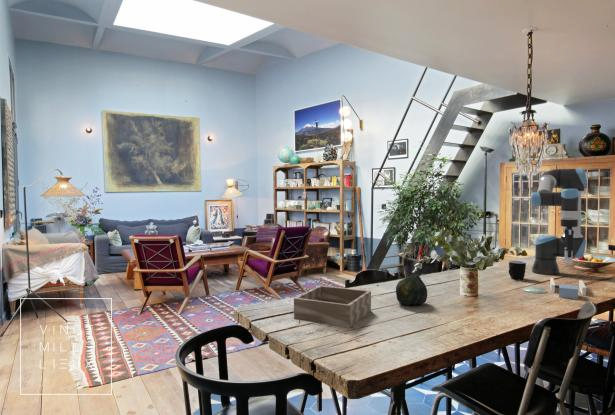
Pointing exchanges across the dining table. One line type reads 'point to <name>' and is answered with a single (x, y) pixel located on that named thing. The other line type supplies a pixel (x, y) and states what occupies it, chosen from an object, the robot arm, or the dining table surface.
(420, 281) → the squash
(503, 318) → the dining table surface
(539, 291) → the coaster
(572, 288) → the block
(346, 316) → the planter box
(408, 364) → the dining table surface
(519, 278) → the mug
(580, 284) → the channel
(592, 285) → the dining table surface
